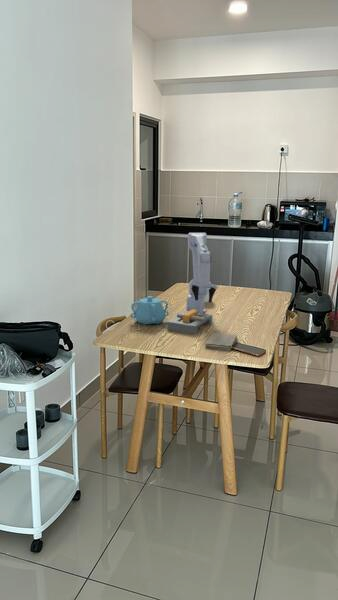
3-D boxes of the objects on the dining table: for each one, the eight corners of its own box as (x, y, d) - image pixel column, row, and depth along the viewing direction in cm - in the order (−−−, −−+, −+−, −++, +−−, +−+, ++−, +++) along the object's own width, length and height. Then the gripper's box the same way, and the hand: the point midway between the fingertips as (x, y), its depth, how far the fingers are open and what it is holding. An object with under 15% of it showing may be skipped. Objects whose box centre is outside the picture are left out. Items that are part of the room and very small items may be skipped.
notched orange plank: (187, 325, 234) (188, 315, 233) (182, 324, 235) (182, 315, 234) (197, 319, 244) (197, 310, 243) (192, 318, 246) (192, 309, 244)
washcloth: (204, 349, 209) (204, 342, 208) (212, 336, 226) (212, 330, 225) (231, 352, 206) (231, 345, 205) (237, 339, 222) (237, 333, 222)
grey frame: (167, 329, 234) (167, 318, 233) (185, 318, 253) (185, 308, 252) (195, 334, 228) (195, 323, 226) (211, 322, 247) (212, 311, 245)
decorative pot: (134, 329, 234) (134, 302, 231) (127, 317, 252) (127, 293, 249) (173, 326, 239) (174, 300, 236) (163, 315, 257) (163, 291, 254)
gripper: (188, 275, 243) (187, 301, 247) (214, 278, 237) (213, 304, 241) (193, 273, 250) (193, 298, 253) (219, 275, 243) (218, 301, 247)
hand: (203, 301), depth 247 cm, fingers open, 7 cm apart
